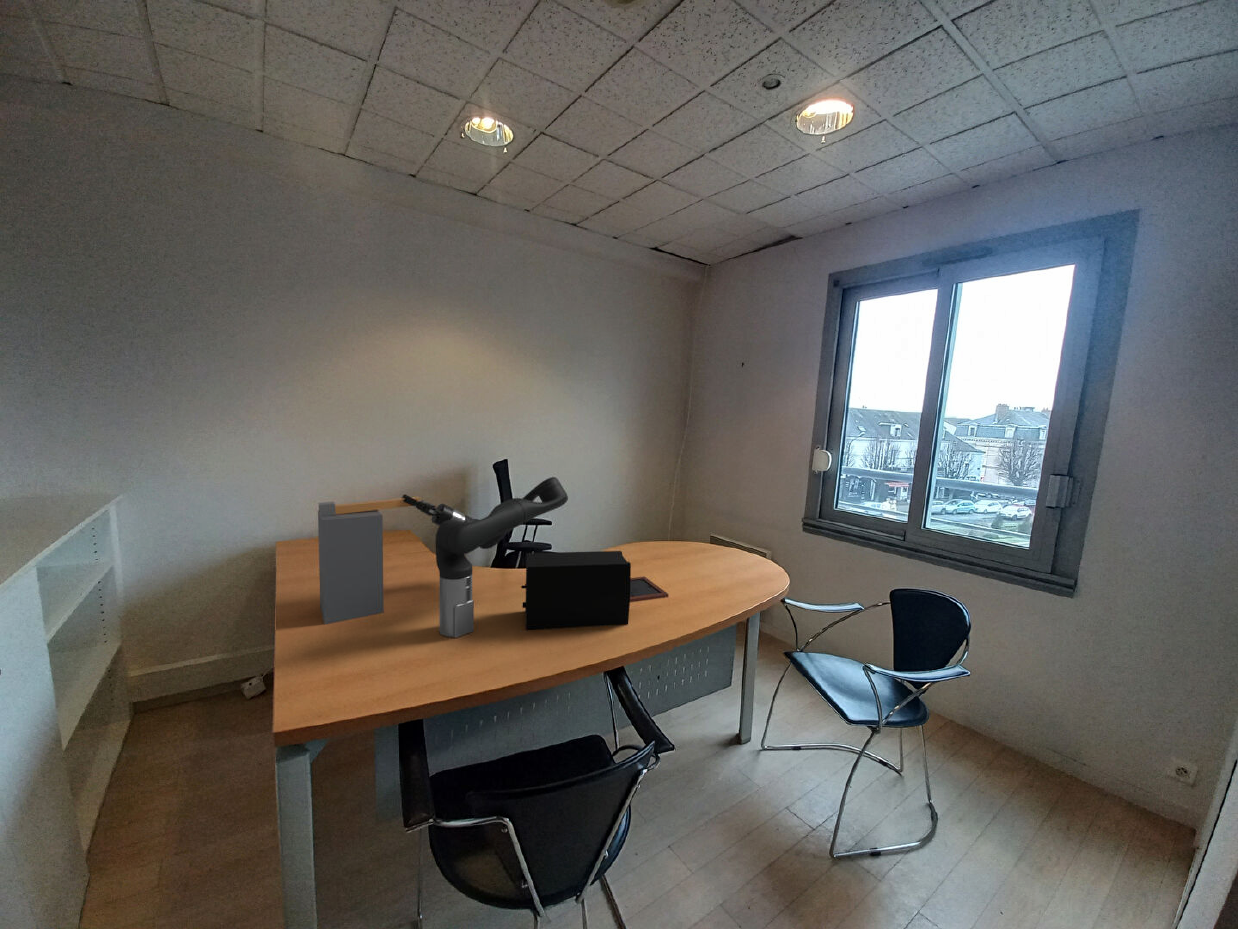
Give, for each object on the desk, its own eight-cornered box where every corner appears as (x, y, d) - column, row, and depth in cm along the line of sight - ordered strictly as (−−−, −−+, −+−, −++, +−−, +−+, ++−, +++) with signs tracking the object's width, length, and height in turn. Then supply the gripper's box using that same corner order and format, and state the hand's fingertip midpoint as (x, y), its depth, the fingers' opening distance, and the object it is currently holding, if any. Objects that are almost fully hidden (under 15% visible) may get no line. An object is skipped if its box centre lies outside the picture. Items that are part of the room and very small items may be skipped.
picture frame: (606, 607, 158) (668, 598, 168) (606, 601, 157) (668, 593, 167) (587, 587, 176) (644, 580, 186) (587, 582, 176) (644, 575, 186)
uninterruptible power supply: (629, 626, 142) (631, 564, 141) (520, 633, 135) (521, 568, 133) (618, 605, 158) (620, 549, 156) (520, 610, 151) (521, 552, 149)
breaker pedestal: (375, 595, 158) (374, 506, 155) (384, 612, 145) (383, 514, 142) (320, 606, 148) (317, 510, 145) (324, 624, 135) (322, 520, 132)
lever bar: (418, 503, 158) (417, 493, 157) (420, 505, 154) (420, 495, 154) (319, 514, 140) (318, 503, 140) (320, 516, 137) (319, 505, 136)
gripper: (449, 531, 156) (402, 511, 146) (437, 523, 167) (393, 504, 157) (460, 512, 158) (414, 490, 148) (447, 505, 169) (404, 485, 159)
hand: (403, 497), depth 153 cm, fingers closed on lever bar, 2 cm apart
